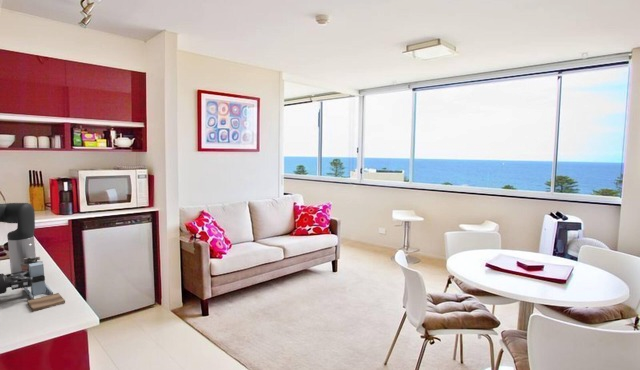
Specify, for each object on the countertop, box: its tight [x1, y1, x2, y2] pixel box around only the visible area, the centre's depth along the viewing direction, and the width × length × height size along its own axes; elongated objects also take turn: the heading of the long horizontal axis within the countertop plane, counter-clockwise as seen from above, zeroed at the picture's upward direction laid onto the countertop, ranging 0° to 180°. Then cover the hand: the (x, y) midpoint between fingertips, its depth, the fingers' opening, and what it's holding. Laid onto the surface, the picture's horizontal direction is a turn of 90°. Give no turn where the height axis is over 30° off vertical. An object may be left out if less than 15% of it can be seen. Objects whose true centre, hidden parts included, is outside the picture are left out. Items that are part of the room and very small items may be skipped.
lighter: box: [21, 256, 44, 278], centre depth 159 cm, size 8×3×10 cm, turn 105°
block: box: [29, 261, 47, 297], centre depth 144 cm, size 4×4×12 cm
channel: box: [23, 282, 54, 300], centre depth 145 cm, size 16×7×2 cm, turn 48°
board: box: [27, 292, 66, 312], centre depth 135 cm, size 10×10×1 cm
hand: (42, 274), depth 145 cm, fingers open, 8 cm apart
